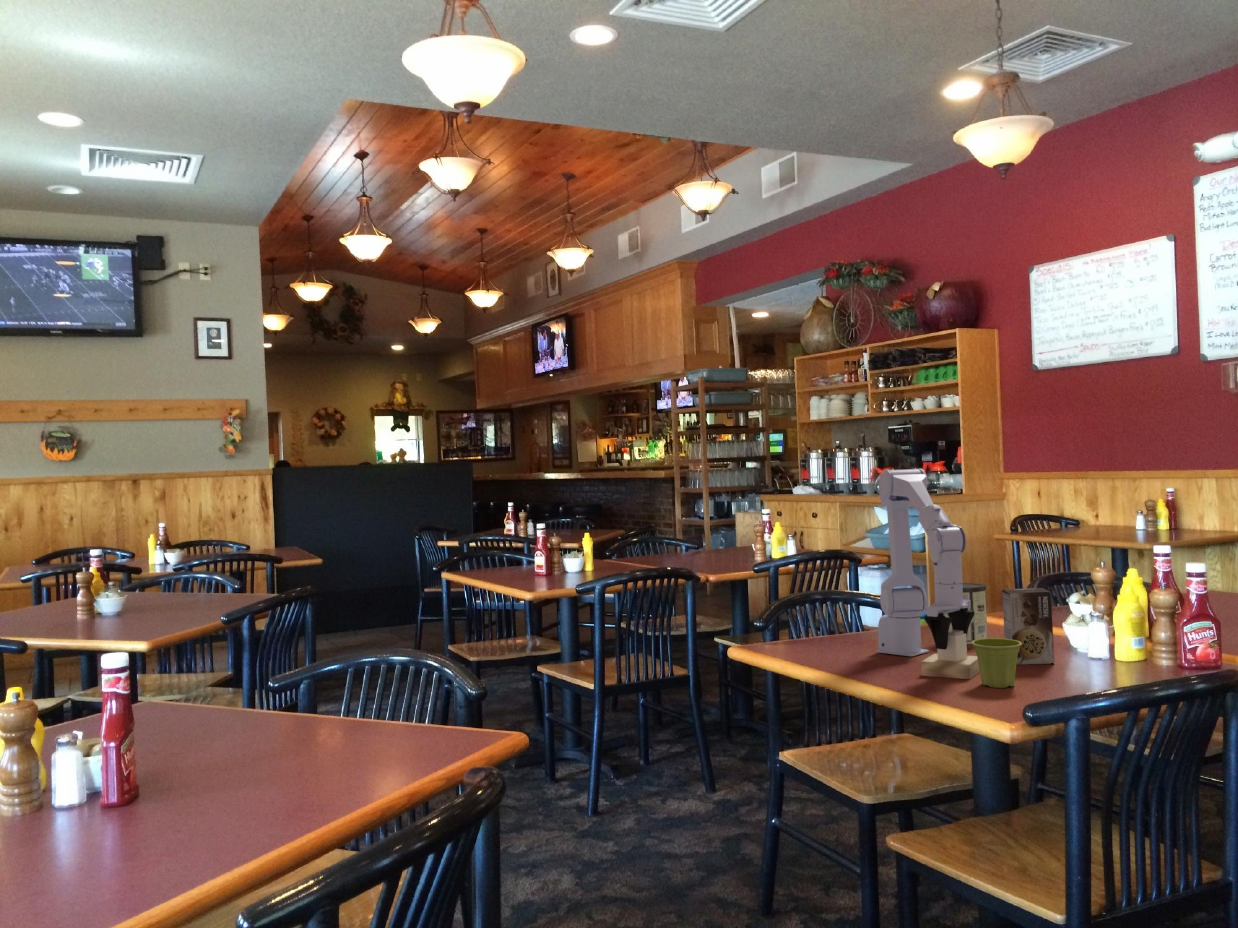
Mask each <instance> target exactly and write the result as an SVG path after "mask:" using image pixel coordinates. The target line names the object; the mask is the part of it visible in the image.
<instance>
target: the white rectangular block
mask: <svg viewBox="0 0 1238 928" xmlns="http://www.w3.org/2000/svg"><path fill="white" fill-rule="evenodd" d="M967 645H968V644H967V643H966V633H963V631H961V630H951V629H949V632H948V645H947V649H945V650H944V649H937V648H936V649H937V650H936V654H937V655H938V660H946V661H954V662H958V661H961V660H964V659H967V656H968V649H967V648H968V647H967Z"/></svg>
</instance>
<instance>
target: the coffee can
mask: <svg viewBox="0 0 1238 928" xmlns="http://www.w3.org/2000/svg"><path fill="white" fill-rule="evenodd" d="M962 586H963V600H970V601H971V609H968V610H972V611H974V613H975V614H974V616H973V618H972V620H971V623H970V625H969V628H968V633H967V637H966V643H967V645H973V644H972V641H974V640H977V639H988V638H989V637H988V619H987V616H988V615H987V594H986V590H987V589H986V588H987V586H986V584H982V583H974V582H972V583H971V582H962ZM944 616H945V617H949V616H948V613H946V614H944ZM949 629H951V630H952V624H951V623H950V627H949Z"/></svg>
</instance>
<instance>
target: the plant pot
mask: <svg viewBox="0 0 1238 928" xmlns="http://www.w3.org/2000/svg"><path fill="white" fill-rule="evenodd" d="M971 645H972V646H973V648H974V652H975V654H976V656H977V659H978V664H979V670H980V672H979V675H980V679H981V680H980V681H981V684H982V685H983V686H985V687H986V686H988V687H990V688H993V689H994V688H995V689H996V688H998V689H1005V688H1008V687H1014V686H1015V683H1016V682H1015V681H1016V670H1017V665H1016V664H1017V656H1018V653H1019V648H1020V646H1021V645H1022V643H1021V642H1020V641H1017V640H1011V639H1005V638H994V637H992V638H989V637H988V639H977V640H974V641H972V644H971Z"/></svg>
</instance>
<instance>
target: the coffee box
mask: <svg viewBox="0 0 1238 928" xmlns="http://www.w3.org/2000/svg"><path fill="white" fill-rule="evenodd" d="M1001 594H1002V612H1003V614H1002V615H1003V632H1004V633H1003V634H1004V639H1011V640H1017V641H1020V642H1021V643H1022V645H1021V646H1020V648H1019V653H1018V656H1017V664H1016V666H1017V665H1019V666H1020V665H1045V664H1049V665H1050V664H1051V663H1054V664H1055V660H1056V659H1055V644H1054V628H1053V627H1054V626H1053V625H1054V624H1053V610H1052V609H1053V608H1052V591H1050V590H1048V589H1045V588H1043V587H1038V588H1037V587H1033V588H1032V587H1031V588H1030V587H1029V588H1007V589H1005V588H1004V589H1002V590H1001Z"/></svg>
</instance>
